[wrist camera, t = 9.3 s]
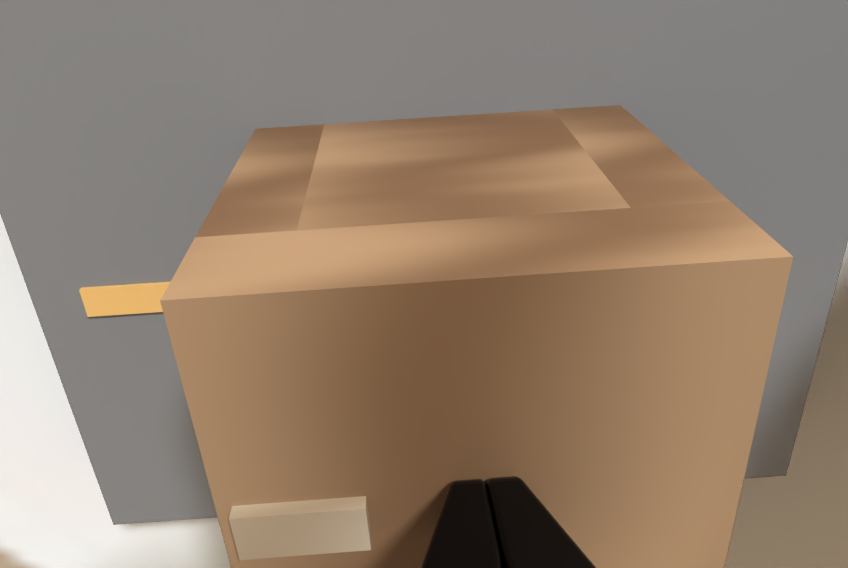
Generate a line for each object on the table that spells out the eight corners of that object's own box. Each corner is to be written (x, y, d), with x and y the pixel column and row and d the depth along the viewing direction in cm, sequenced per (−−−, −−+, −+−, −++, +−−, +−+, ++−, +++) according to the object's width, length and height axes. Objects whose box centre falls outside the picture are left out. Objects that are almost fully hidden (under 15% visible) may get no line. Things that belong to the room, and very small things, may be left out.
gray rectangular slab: (877, -92, 13) (939, -91, 11) (757, 433, 18) (787, 478, 17) (-38, -40, 12) (-94, -32, 11) (133, 478, 18) (112, 527, 17)
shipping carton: (620, 105, 12) (803, 265, 7) (596, 396, 16) (711, 664, 10) (255, 128, 12) (154, 310, 7) (303, 417, 15) (261, 700, 10)
